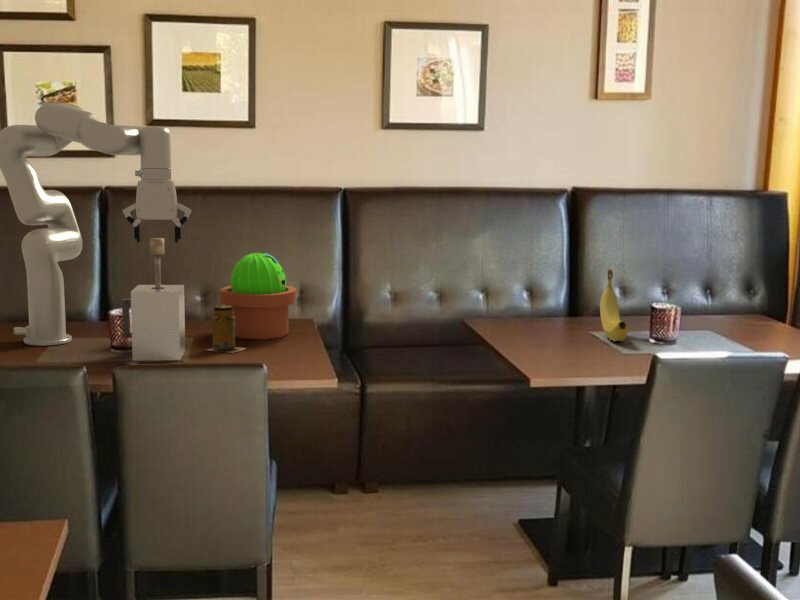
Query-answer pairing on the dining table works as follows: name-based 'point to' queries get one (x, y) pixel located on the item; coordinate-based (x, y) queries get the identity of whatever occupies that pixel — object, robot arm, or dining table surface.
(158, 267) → the plunger
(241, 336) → the potted cactus
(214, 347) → the condiment
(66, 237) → the robot arm
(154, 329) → the press housing
